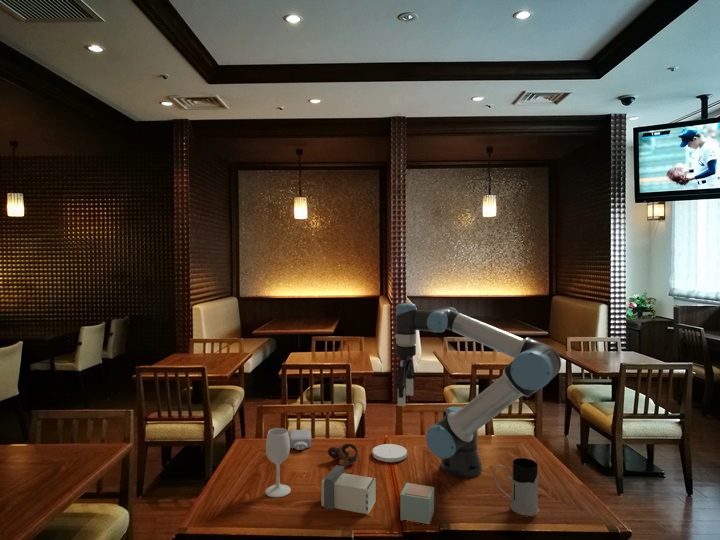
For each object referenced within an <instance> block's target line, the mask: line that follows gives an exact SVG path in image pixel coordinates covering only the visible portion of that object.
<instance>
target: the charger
mask: <svg viewBox="0 0 720 540" xmlns="http://www.w3.org/2000/svg"><path fill="white" fill-rule="evenodd" d="M289 441H290V449H291V448H292V450H293V448H295V450H297V451H300V450H301V451H302V450H305V449H310V448H312V431H311V429H293V430H290V431H289ZM309 447H310V448H309Z"/></svg>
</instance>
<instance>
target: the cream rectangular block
mask: <svg viewBox="0 0 720 540" xmlns="http://www.w3.org/2000/svg"><path fill="white" fill-rule="evenodd" d="M376 483H377V481H376V478H375V477H369V476H363V475H357V474H351V473H350V474H349V473H345V467H344V466H343V465H337V464H336V465H335V466H334V467H333V468H331V470H330V471H329V473H327V475H326V476H325V477H324V478H323V479H322V481H321V486H320V487H321V490H320V491H321V492H320V495H321V498H320V500H321V503H320V506H321V507H323V508H324V509H326V510H332V511H333V510H334V509H338V510H344V511H347V512H348V511H349V512H353V513H359V514H365V515H369V514H370V512H371V510H372V509H373V507H374V505H375V503H376V502H377V501H376V497H377V495H376V489H377V487H376Z"/></svg>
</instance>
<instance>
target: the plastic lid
mask: <svg viewBox="0 0 720 540" xmlns="http://www.w3.org/2000/svg"><path fill="white" fill-rule="evenodd" d="M372 457H373V458H374V459H376V460H378V461H381V462H386V463H396V462H401V461H403V460H405V459H406V458H407V457H408V450H407V448H405V447H404V446H402V445H399V444H394V443H385V444H383V443H382V444H378V445H377V446H374V447H373V449H372Z"/></svg>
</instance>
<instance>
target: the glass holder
mask: <svg viewBox="0 0 720 540" xmlns="http://www.w3.org/2000/svg"><path fill="white" fill-rule="evenodd" d="M499 467H502V468H504V470H505V471H506V478H507V479H508V480H510V481H511V496H510V495H509V494H507V492H506V491H504V490H503V489H502V488H501V487H500V486H499V484H498V481H497V480H496V474H495V473H496V469H498V468H499ZM538 468H539V467H538V462H536V461H534V460H532V459H530V458H526V457H525V458H524V457H523V458H521V457H520V458H519V457H517V458H515V459H513V460H512V477H509V473H508V472H509V471H508V468H507V467H506V466H505V465H502V464H498V465H496V466H495V467H494V468H493V480H494V483H495V485H496V487H497V489H499V490H500V491H501V492H502V493H503V494H504V495H505V496H506V497H507V498H508V499H510V503H511V504H510V506H511V508H510V510H511V509H512V510H514V511H515V512H517V513H520V514H524V515H533V514H536V513H538V512H539V513H540V509H539V503H538V502H539V497H538V496H539V471H538ZM512 510H511V511H512ZM515 512H514V513H515ZM517 513H516V514H517Z"/></svg>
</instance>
